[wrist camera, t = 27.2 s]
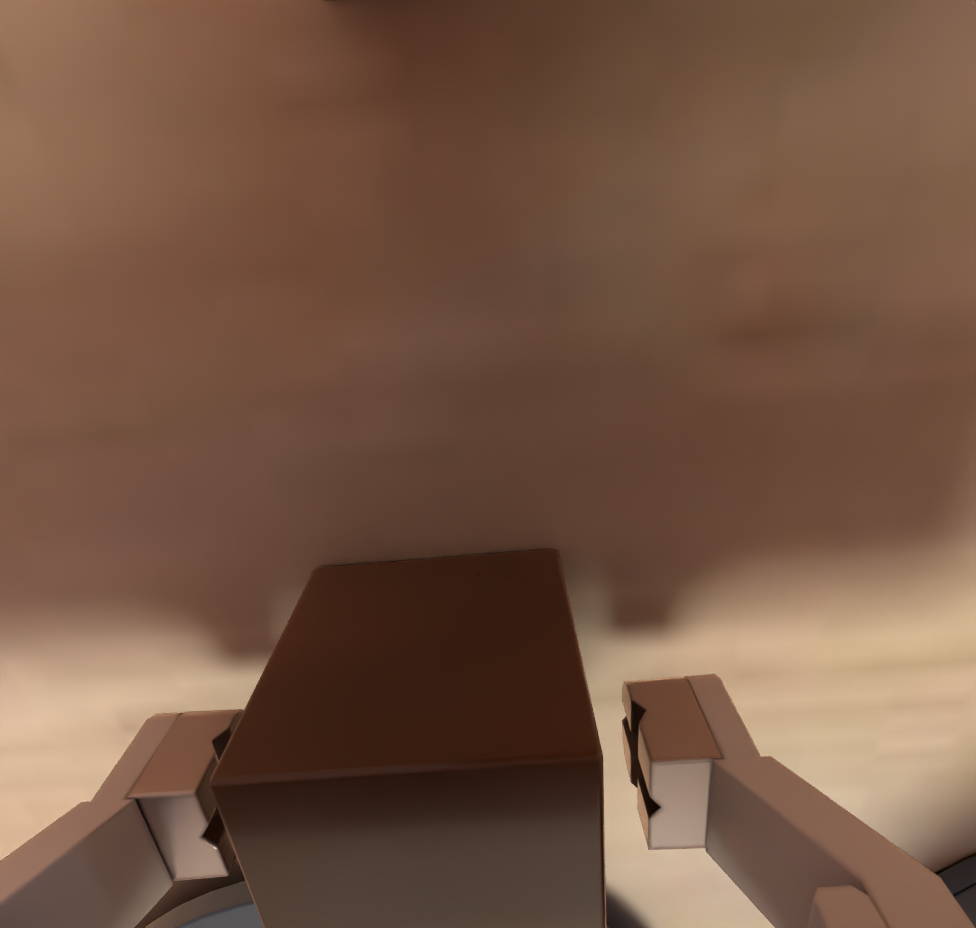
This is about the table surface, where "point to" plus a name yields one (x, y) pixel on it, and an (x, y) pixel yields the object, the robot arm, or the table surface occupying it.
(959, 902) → the tin
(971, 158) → the table surface
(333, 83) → the table surface
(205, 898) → the lid
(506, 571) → the block
